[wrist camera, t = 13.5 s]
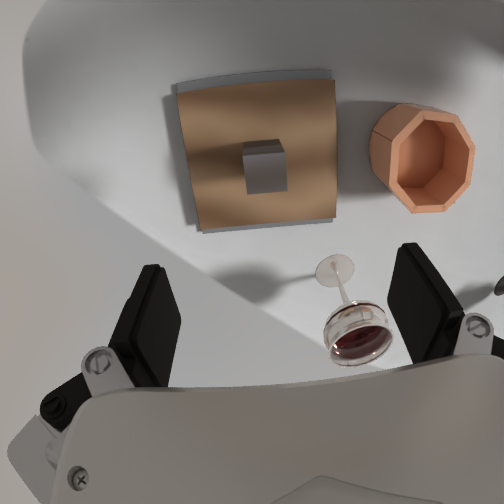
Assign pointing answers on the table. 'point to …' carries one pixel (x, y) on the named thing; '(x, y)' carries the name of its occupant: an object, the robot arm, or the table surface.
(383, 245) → the table surface
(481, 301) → the table surface
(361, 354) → the wineglass
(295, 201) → the cover
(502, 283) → the sundae
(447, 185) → the bowl
